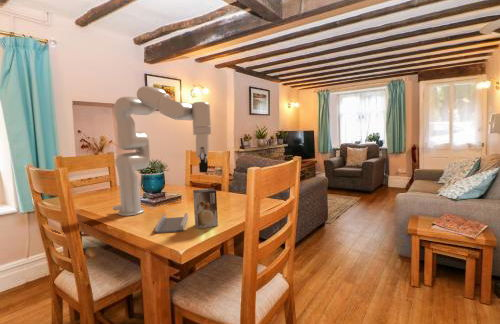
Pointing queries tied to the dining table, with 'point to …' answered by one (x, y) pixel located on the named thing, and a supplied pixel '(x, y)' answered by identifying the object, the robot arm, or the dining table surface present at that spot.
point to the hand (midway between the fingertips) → (203, 170)
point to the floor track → (171, 224)
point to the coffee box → (205, 208)
